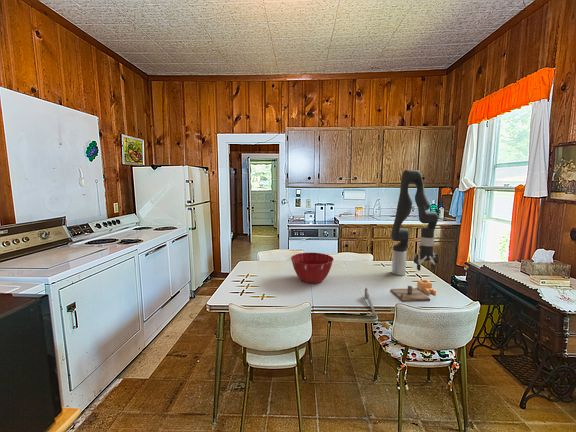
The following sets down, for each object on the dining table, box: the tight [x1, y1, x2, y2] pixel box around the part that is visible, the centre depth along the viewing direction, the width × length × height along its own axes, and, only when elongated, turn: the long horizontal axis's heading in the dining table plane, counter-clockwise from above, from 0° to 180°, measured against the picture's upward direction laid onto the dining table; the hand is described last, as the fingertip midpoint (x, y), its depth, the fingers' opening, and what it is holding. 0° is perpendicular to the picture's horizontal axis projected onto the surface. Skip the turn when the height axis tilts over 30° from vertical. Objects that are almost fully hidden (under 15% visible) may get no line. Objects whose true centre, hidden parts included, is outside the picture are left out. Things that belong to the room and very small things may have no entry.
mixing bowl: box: [290, 252, 335, 284], centre depth 200 cm, size 28×28×16 cm
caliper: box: [364, 287, 375, 313], centre depth 162 cm, size 20×1×6 cm, turn 177°
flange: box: [416, 279, 437, 296], centre depth 181 cm, size 12×6×5 cm, turn 5°
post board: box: [390, 285, 431, 302], centre depth 174 cm, size 16×16×6 cm
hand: (425, 270), depth 183 cm, fingers open, 8 cm apart
